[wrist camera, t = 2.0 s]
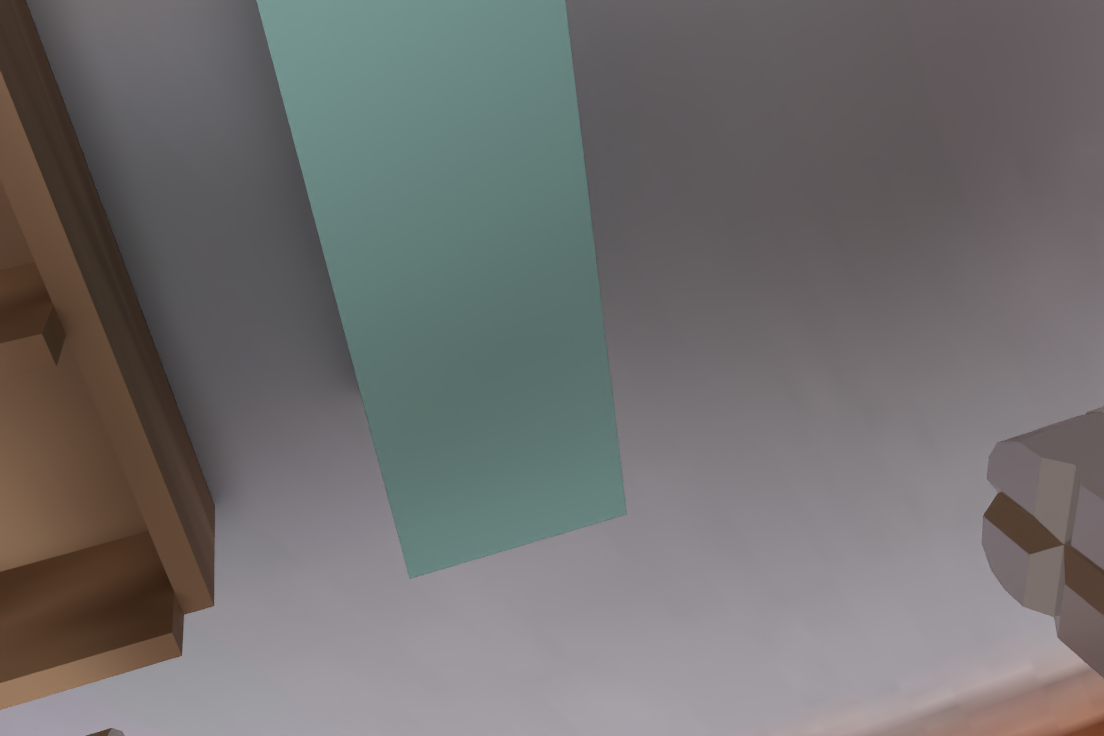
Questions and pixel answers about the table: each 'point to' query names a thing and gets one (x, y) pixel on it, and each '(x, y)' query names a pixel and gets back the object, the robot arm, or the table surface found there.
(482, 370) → the teal block
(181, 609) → the rack
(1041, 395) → the table surface
